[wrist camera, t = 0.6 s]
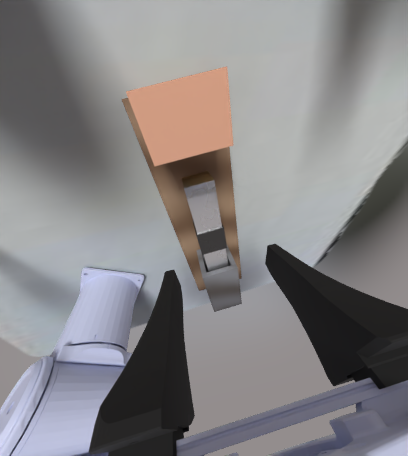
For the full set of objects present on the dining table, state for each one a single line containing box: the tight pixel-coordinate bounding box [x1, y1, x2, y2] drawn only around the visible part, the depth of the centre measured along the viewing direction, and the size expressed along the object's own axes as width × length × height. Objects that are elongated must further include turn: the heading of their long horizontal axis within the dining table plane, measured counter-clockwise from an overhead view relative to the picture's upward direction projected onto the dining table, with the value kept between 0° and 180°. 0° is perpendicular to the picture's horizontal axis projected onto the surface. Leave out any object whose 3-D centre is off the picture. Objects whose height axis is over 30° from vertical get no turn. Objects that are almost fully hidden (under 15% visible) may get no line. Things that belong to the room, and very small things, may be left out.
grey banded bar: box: [182, 171, 228, 272], centre depth 20 cm, size 19×3×3 cm, turn 12°
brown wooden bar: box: [122, 98, 242, 312], centre depth 19 cm, size 28×8×5 cm, turn 12°
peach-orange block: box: [126, 67, 233, 166], centre depth 11 cm, size 4×5×5 cm
